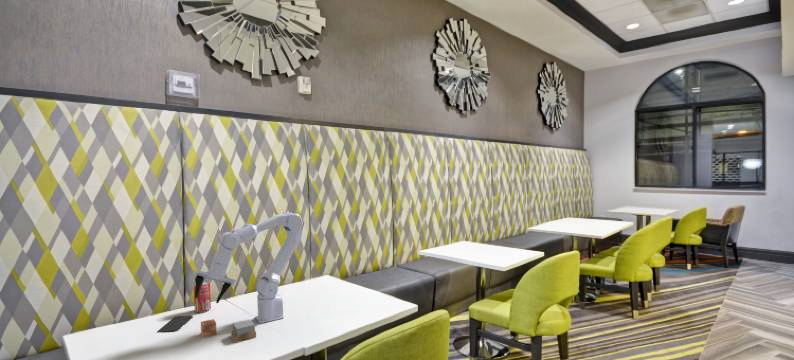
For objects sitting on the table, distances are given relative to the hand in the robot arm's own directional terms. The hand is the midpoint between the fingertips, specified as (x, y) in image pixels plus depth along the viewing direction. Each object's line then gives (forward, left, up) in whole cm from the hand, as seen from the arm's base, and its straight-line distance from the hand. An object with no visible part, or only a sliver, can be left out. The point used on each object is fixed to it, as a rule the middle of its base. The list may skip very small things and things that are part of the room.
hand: (206, 300), depth 146 cm
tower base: (-10, +10, -13) cm, 20 cm away
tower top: (-10, +10, -11) cm, 18 cm away
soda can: (-2, -28, -13) cm, 30 cm away
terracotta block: (0, 0, -13) cm, 13 cm away
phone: (+9, -18, -13) cm, 24 cm away
